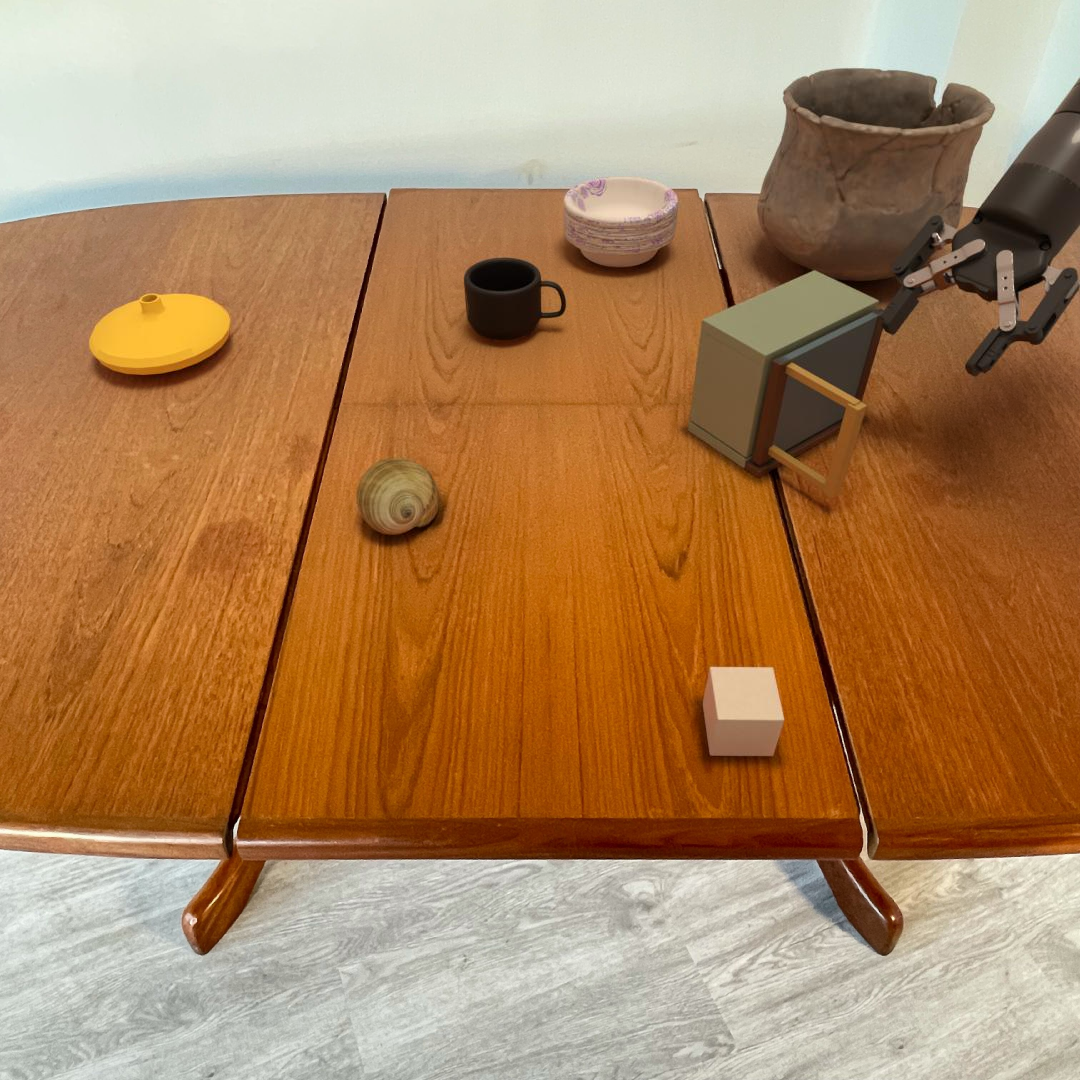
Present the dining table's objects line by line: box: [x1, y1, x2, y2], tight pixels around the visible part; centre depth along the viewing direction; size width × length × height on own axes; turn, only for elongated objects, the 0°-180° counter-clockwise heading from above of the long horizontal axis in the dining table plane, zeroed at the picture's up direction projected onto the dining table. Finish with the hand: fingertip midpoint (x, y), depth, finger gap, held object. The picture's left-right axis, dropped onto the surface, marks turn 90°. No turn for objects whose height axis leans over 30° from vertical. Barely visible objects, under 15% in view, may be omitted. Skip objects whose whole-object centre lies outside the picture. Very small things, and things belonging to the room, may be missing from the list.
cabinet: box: [687, 270, 879, 479], centre depth 88 cm, size 10×16×13 cm, turn 127°
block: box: [702, 666, 785, 757], centre depth 64 cm, size 5×5×5 cm
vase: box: [88, 293, 232, 376], centre depth 102 cm, size 16×16×7 cm
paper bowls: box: [562, 176, 679, 268], centre depth 118 cm, size 15×15×8 cm
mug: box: [463, 257, 567, 341], centre depth 104 cm, size 12×9×7 cm
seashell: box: [356, 457, 440, 536], centre depth 82 cm, size 10×7×8 cm
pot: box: [756, 67, 996, 282], centre depth 110 cm, size 25×24×21 cm
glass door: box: [752, 307, 885, 500], centre depth 83 cm, size 9×15×12 cm, turn 127°
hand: (927, 350), depth 77 cm, fingers open, 8 cm apart
